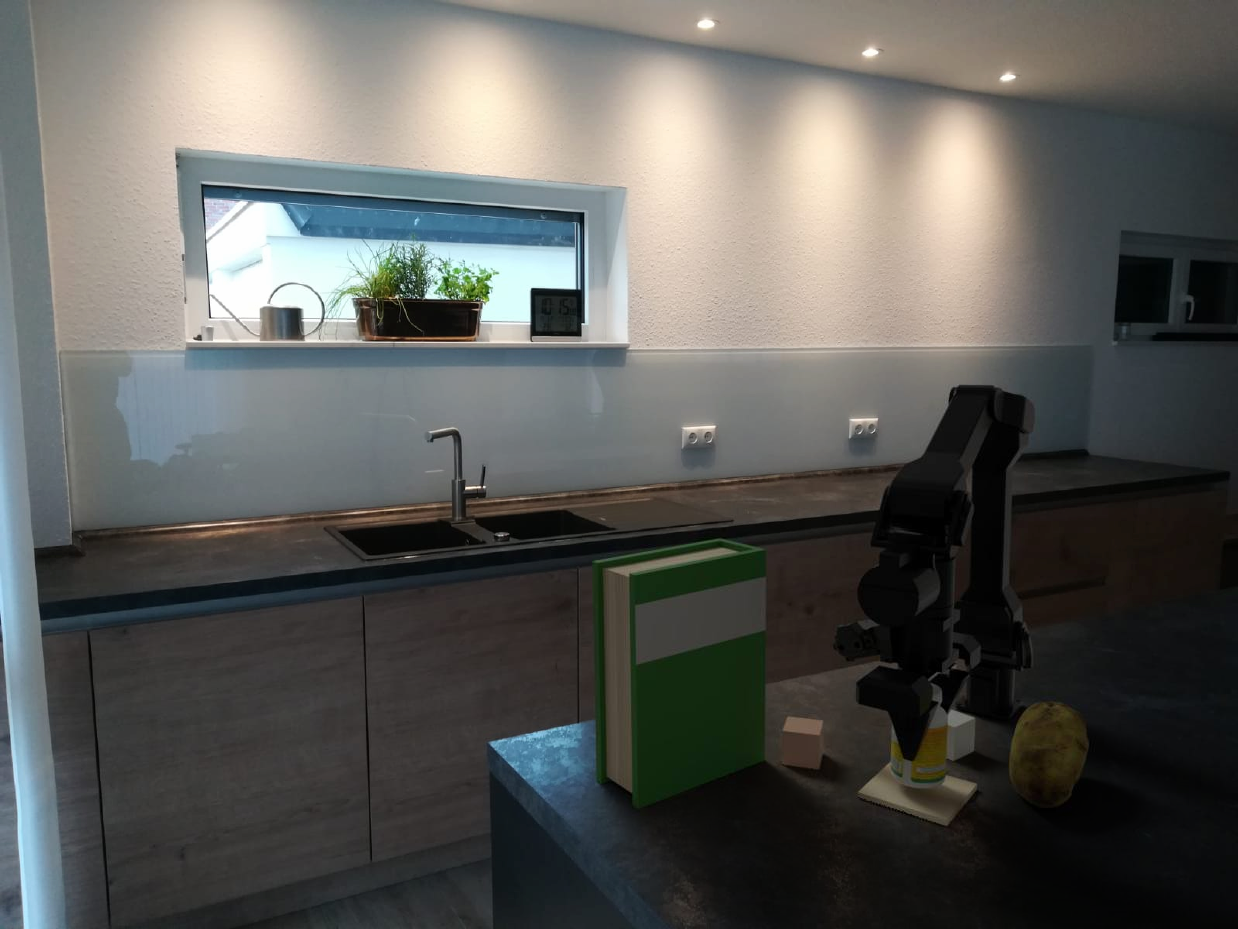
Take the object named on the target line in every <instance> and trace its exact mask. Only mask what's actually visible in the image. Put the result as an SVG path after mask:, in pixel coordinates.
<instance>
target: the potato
mask: <svg viewBox="0 0 1238 929" xmlns="http://www.w3.org/2000/svg"><path fill="white" fill-rule="evenodd" d="M1089 746H1090V741H1089V738H1088V734H1087V723H1086V720H1085V718H1084V715H1082V713H1081V712H1079V711H1078V710H1076V709H1075V708H1073V707H1072V706H1071V705H1068V704H1064V703H1063V702H1060V701H1051V700H1049V701H1039V702H1035V703H1033V704H1032V705H1030V706H1029V707H1027V708H1026V709H1025V711H1024V712H1023V713H1022V714H1021V716H1020V717H1019V719H1018V720H1017V723H1016V727H1015V729H1014V734H1013V737H1012V739H1011V744H1010V754H1009V759H1008V761H1009V762H1008V772H1009V777H1010V780H1011V783H1012V785H1013V787H1014V789H1015V791H1016V792H1017V793H1018V794H1019V796H1021V797H1022V798H1023V799H1025V800H1026V801H1027V802H1028V803H1030V804H1032V805H1034V806H1036V807H1038V808H1040V809H1052V808H1057V807H1059V806H1061V805H1063V804H1064V803H1066V802H1067V801H1068V800H1069V799H1070V798H1071V797H1072V795H1073V793H1072V791H1073V789H1074V787H1075V785H1077V784H1078V783H1079V781H1080V779H1081V776H1082V773H1083V771H1084V766H1085V762H1086V761H1087V756H1088V752H1089Z"/></svg>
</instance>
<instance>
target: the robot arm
mask: <svg viewBox="0 0 1238 929" xmlns="http://www.w3.org/2000/svg"><path fill="white" fill-rule="evenodd" d="M947 404H948V405H947V407H946V410H945V411H944V413H943V415H942V417H941V419H940V421H939V423H938V425H937V427H936V429H935V431H934V433H933V434H932V436H931V439H930V440H929V443H928V444H927V446H926V449H925V450H924V452H923V454H922V455H921V456H920V457H919V458H917V459H914V460H912V461H910V462H907V463H905V464H904V465H902V466H901V468H900V469H899V470H898V471H897V473H896V474H895V475H894V477H892V480H891V481H890V483H889V484H888V485H887V486H886V487H885V489H884V491H883V494H882V498H881V502H880V505H879V510H878V515H877V517H876V520H875V524H874V528H873V532H872V535H871V539H870V547H871V548H878V549H884V550H882V551H880V552H879V554H878V563H877V565H875V566H874V567H873V566H872V567H871V568H869V570H867V571H865V573H864V574H863V576H861V579H860V581H859V583H858V586H857V590H856V594H857V595H856V596H857V601H858V604H859V607H860V608H861V610H862V612H863V613H864V615H865V616H866V617H867V618H868V619H865V620H859V621H857V620H854V621H852V622H850V623H846V622H843V623H842V624H840V625H838V626H837V627H836V630H835V631H836V632H835V634H833V638H834V643H833V644H832V648H833V650H835V651H836V652H837V653H838V654H839V655H840V656H841V657H843V658H844V662H846V663H850V662H854V661H856V660H858V659H865V658H870V657H877V656H879V662H880V663H885V664H890V665H891V664H897V668H892V667H888V666H883V665H878V666H877V667H875V668H873V669H871V671H869V672H868V673H867V674H866V675H864V676H863V677H862V678H860V679H858V680H857V681H856V682H855V702H856V703H857V704H858V705H860V706H865V707H870V708H872V709H877V710H881V711H885V712H887V714H888V716H889V718H890V720H891V725H892V724H893V727H894V730H895V734H896V737H897V740H898V744H899V747H900V750H901V754H902V757H903V758H904V759H905V760H909V761H914V760H915V758H916V756H917V754H918V752H919V750H920V747H921V745H922V743H923V740H924V738H925V735H926V733H927V731H928V728H929V726H930V723H931V721H932V719H933V716H934V714H935V712H936V709H937V707H938V704H939V702H937V701H933V700H932V698H933V686H932V685H931V683H932V684H935V685H937V686H938V687H940V688H941V690H942V703H941V704H940V707H942V708H943V709H944V710H945V712H946V713H947V716H948V714H949V712H950V710H952V708H953V707H955V709H957V710H961V711H965V712H970V713H974V714H978V715H979V714H980V715H984V716H987V717H990V718H991V717H993V718H997V719H999V720H1000V719H1001V720H1005V721H1008V720H1010V719H1011V718H1012V717H1013V716H1014V715H1015V713H1017V711H1018V710H1019V709H1020V708H1021V707H1022V706H1023V701H1022V699H1021V700H1020V699H1017V698H1014V696H1015V679H1016V677H1015V675H1016V671H1018V672H1020V673H1021V672H1022V671H1023V670H1026V669H1032V668H1033V664H1034V663H1033V661H1034V654H1033V652H1034V651H1033V645H1032V644H1033V643H1032V638H1031V634H1030V633H1029V630H1028V625H1027V623H1026V621H1023V604H1022V602H1021V600H1020V599H1019V597H1018V595H1017V594H1016V592H1015V591H1014V589H1013V588H1012V585H1011V584H1010V565H1011V564H1010V563H1011V560H1010V559H1011V531H1012V529H1011V528H1012V501H1013V475H1014V473H1013V472H1014V466H1015V464H1016V462H1018V460H1019V459H1020V457H1021V455H1023V453H1024V452H1025V450H1026V448H1027V447H1028V445H1029V442H1030V441H1029V440H1030V434H1031V435H1032V433H1033V431H1034V428H1035V423H1036V422H1035V420H1036V410H1035V409H1036V408H1035V405H1034V403H1033V402H1031V401H1030V399H1028V398H1027V397H1026V396H1025V395H1024V394H1022V393H1012V392H1008V391H1005V390H1003V389H1002V388H1001V387H998V386H997V387H996V386H995V385H993V384H958V385H957V386H952V388H950V391H949V395H948V402H947ZM970 472H971V493H970V492H969V491H968V484H967V478H968V476H969V473H970ZM891 528H892V529H894V531H890V530H891ZM969 529H970V531H969ZM968 532H970V534H969V535H970V536H969V564H968V565H969V568H968V569H969V571H968V572H969V573H968V586H967V587H966V588H965V590H964V591H963V592H962V594H961V595H960V597H959V598H958V600H957V601H956V602H955V581H956V580H955V579H956V578H955V577H956V575H955V574H956V554H958V550H959V548H960V547H962V548H963V547H964V546H965V544H966V540H967V536H968ZM958 660H962V661H963V662H964V665H965V670H963V669H957V663H956V662H957V661H958ZM963 687H964V688H963ZM963 689H964V695H963V696H962V697H960V699H958V697H959V695H960V693H961V691H962V690H963ZM957 699H958V700H957ZM956 700H957V702H956Z"/></svg>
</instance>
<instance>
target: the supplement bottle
mask: <svg viewBox="0 0 1238 929" xmlns="http://www.w3.org/2000/svg"><path fill="white" fill-rule="evenodd" d="M931 685H932V686H933V698H932V700H933V701H937V702H939V704H938V707H937V709H936V712H935V714H934V716H933V719H932V721H931V723H930V726H929V728H928V731H927V733H926V735H925V738H924V740H923V743H922V745H921V747H920V750H919V752H918V754H917V756H916V758H915V760H914V761H909V760H905V759H904V758H903V757H902V754H901V750H900V747H899V744H898V740H897V737H896V734H895V730H894V727H893V724H892V723H891V743H890V744H891V746H890V762H891V774H892V776H893V777H894V779H895V780H897V781H898V782H900V783H901V784H904V785H906V786H909V787H914V788H925V789H930V788H936V787H938V786H940V785H942V784H943V782H944V781H945V777H946V775H947V758H946V755H947V730H948V716H947V713H946V712H945V710H944V709H943V708H942V707H940V704H941V703H942V690H941V688H940V687H938V686H937V685H935V684H932V683H931Z"/></svg>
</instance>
